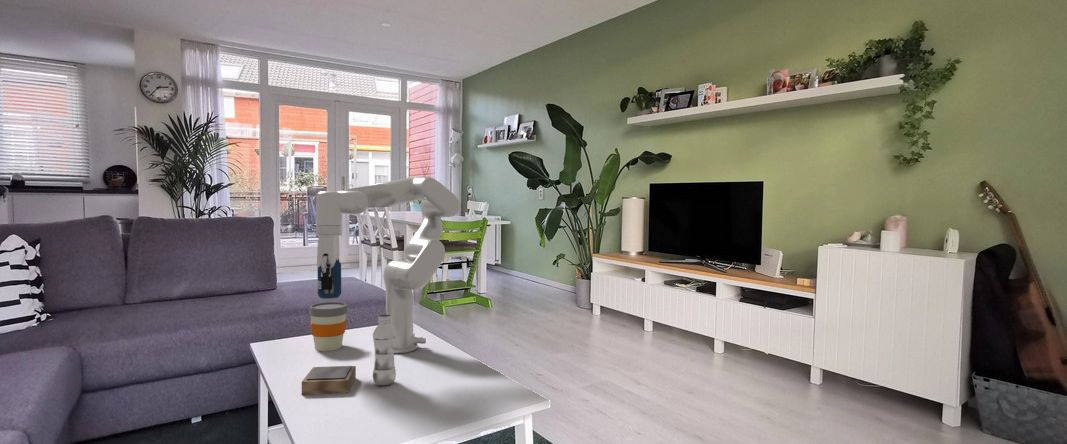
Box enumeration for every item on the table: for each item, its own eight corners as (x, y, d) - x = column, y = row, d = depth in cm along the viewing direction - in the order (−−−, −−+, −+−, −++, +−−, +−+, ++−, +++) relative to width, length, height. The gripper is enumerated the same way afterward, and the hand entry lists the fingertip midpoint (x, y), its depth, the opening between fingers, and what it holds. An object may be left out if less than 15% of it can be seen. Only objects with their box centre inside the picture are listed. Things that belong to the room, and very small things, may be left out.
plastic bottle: (400, 381, 151) (401, 314, 150) (386, 389, 145) (387, 319, 144) (381, 378, 153) (382, 312, 152) (367, 386, 147) (368, 317, 146)
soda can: (334, 294, 167) (333, 257, 166) (345, 297, 162) (345, 259, 162) (313, 297, 161) (313, 259, 161) (324, 300, 157) (324, 261, 156)
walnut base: (355, 377, 153) (355, 364, 153) (347, 393, 142) (347, 378, 141) (313, 379, 152) (313, 365, 151) (301, 394, 140) (301, 380, 140)
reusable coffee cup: (334, 340, 192) (334, 300, 192) (354, 346, 185) (354, 305, 184) (302, 347, 182) (302, 305, 181) (322, 354, 175) (322, 311, 174)
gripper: (323, 228, 169) (323, 282, 170) (309, 232, 151) (309, 292, 152) (347, 228, 170) (347, 282, 171) (335, 232, 153) (336, 292, 154)
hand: (329, 286), depth 162 cm, fingers closed on soda can, 7 cm apart
